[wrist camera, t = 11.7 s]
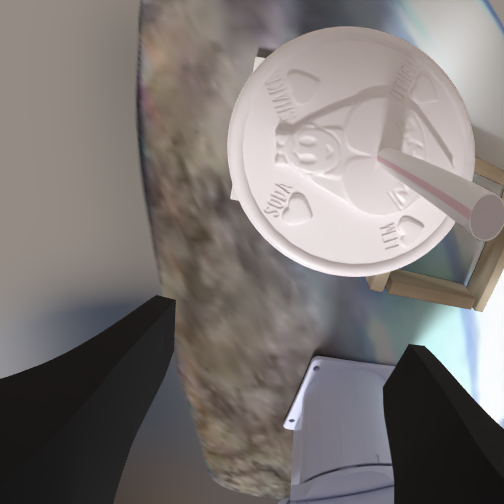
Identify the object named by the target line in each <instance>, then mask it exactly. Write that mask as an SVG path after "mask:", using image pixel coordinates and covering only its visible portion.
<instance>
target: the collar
mask: <svg viewBox="0 0 504 504" xmlns="http://www.w3.org/2000/svg"><path fill="white" fill-rule="evenodd" d="M474 172H475V173H477V174H479V175H481V176H484V177H486V178H488V179H490V180H492V181H495V182H497V183H499V184H501V185H503V186H504V171H503V170H501V169H499V168H497V167H495V166H493V165H491V164H489V163H486V162H484V161H482V160H480V159H478V158H476V157H475V168H474ZM501 199H502V200H503V202H504V192H503V195H502V198H501ZM503 268H504V226H503V228H502V230H501V231H500V233H499V234H498V235H497V236H496V237H495V238H493V239H491V240H489V241H486V244H485V247H484V249H483V252H482V254H481V256H480V259H479V261H478V264H477V266H476V268H475V271H474V273H473V275H472V277H471V279H470V282H469V284H468V286H467V288H466V286H465V285H464V284H460V283H456V282H452V281H448V280H443V279H439V278H435V277H431V276H426V275H422V274H418V273H413V272H409V271H405V270H400V269H396V270H394V271H390V272H387V273H383V274H378V275H373V276H365V278H366V280H367V283H368V286H369V288H370V290H374V291H379V292H383V290H384V287H386V289H387V292H388V294H393V295H398V296H403V297H408V298H414V299H419V300H424V301H429V302H434V303H439V304H444V305H449V306H454V307H460V308H465V309H470V310H471V308H473V309H474V310H475V311H481V312H483V310H484V308H485V306H486V304H487V302H488V300H489V298H490V296H491V294H492V292H493V290H494V288H495V286H496V284H497V282H498V279H499V277H500V275H501V273H502V271H503Z"/></svg>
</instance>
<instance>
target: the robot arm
mask: <svg viewBox="0 0 504 504" xmlns="http://www.w3.org/2000/svg"><path fill="white" fill-rule="evenodd" d="M175 307H176V300H174V299H170V298H166V297H162V296H158V295H156V296H154V297H153V298H151V299H150V300H148V301H147V302H146V303H144V304H142V305H141V306H140V307H138V308H137V309H136V310H134V311H132V312H131V313H130V314H128V315H127V316H125V317H124V318H122V319H121V320H119V321H118V322H116V323H115V324H114V325H112V326H110V327H109V328H107V329H106V330H104V331H103V332H101V333H100V334H98V335H96V336H95V337H93V338H91V339H90V340H88V341H86V342H84V343H83V344H81V345H79V346H78V347H76V348H74V349H72V350H70V351H69V352H67V353H65V354H63V355H61V356H59V357H56V358H54V359H52V360H50V361H48V362H46V363H43V364H41V365H38V366H36V367H33V368H30V369H28V370H25V371H22V372H20V373H17V374H14V375H12V376H8V377H5V378H2V379H0V504H113V502H114V498H115V494H116V491H117V488H118V484H119V481H120V478H121V474H122V471H123V469H124V465H125V463H126V460H127V457H128V454H129V451H130V448H131V445H132V443H133V441H134V438H135V436H136V434H137V432H138V430H139V428H140V426H141V423H142V422H143V419H144V417H145V415H146V413H147V411H148V409H149V407H150V405H151V403H152V401H153V399H154V397H155V395H156V393H157V391H158V389H159V387H160V385H161V383H162V381H163V379H164V377H165V374H166V371H167V369H168V366H169V363H170V360H171V357H172V354H173V352H174V332H175ZM315 366H319V367H315ZM284 428H286V429H291V430H294V436H293V455H292V471H291V483H292V486H291V495H290V498H285V499H282V500H281V501H280V502H279V503H278V504H504V429H503V428H502V427H501V426H500V425H499V424H498V423H496V422H495V421H494V420H493V419H492V418H491V417H490V416H489V415H488V414H487V413H486V412H485V411H484V410H483V409H482V408H481V406H480V405H479V404H478V403H477V402H476V401H475V400H474V399H473V398H472V397H471V396H470V395H469V394H468V392H467V391H466V390H465V389H464V388H463V387H462V386H461V385H460V383H459V382H458V381H457V380H456V379H455V378H454V377H453V375H452V374H451V373H450V372H449V371H448V370H447V369H446V368H445V366H444V365H443V364H442V363H441V362H440V361H439V360H438V359H437V358H436V357H435V356H434V355H433V354H432V353H431V352H430V351H429V350H428V349H427V348H426V347H425V346H420V345H412V344H409V345H408V347H407V348H406V350H405V352H404V353H403V355H402V357H401V358H400V360H399V362H398V363H397V365H396V366H389V365H380V364H372V363H364V362H357V361H350V360H343V359H336V358H330V357H324V356H315V357H314V358H313V359H312V360H311V363H310V365H309V368H308V370H307V372H306V375H305V377H304V379H303V382H302V384H301V386H300V388H299V391H298V393H297V395H296V397H295V400H294V402H293V404H292V406H291V408H290V411H289V413H288V415H287V417H286V419H285V421H284Z"/></svg>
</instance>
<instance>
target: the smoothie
mask: <svg viewBox="0 0 504 504" xmlns="http://www.w3.org/2000/svg"><path fill="white" fill-rule="evenodd" d="M227 149H228V163H229V170H230V175H231V179H232V183H233V186H234V189H235V192H236V195H237V197H238V199H239V202H240V204H241V206H242V208H243V210H244V211H245V213H246V215H247V216H248V218H249V220H250V221H251V222H252V224H253V225H254V226H255V228H256V229H257V230H258V231H259V233H260V234H261V235H262V236H263V237H264V238H265V239H266V240H267V241H268V242H269V243H270V244H271V245H272V246H273V247H275V248H276V249H277V250H279V251H280V252H281V253H283V254H284V255H285V256H287V257H289V258H290V259H292V260H293V261H295V262H297V263H299V264H301V265H303V266H306V267H308V268H311V269H313V270H316V271H320V272H323V273H327V274H332V275H337V276H347V277H363V276H373V275H378V274H383V273H387V272H390V271H394V270H396V269H399V268H402V267H404V266H406V265H408V264H410V263H412V262H414V261H416V260H417V259H419V258H420V257H422V256H424V255H425V254H426V253H428V252H429V251H430V250H431V249H433V248H434V247H435V246H436V245H437V244H438V243H439V242H440V241H441V240H442V239H443V238H444V237H445V236H446V235H447V233H448V232H449V231H450V230H451V228H452V227H453V226H454V224H455V222H457V223H458V224H459V225H460V226H462V227H463V228H464V229H465V230H467V231H468V232H469V233H470V234H471V235H473V236H474V237H475V238H476V239H478V240H480V241H489V240H491V239H493V238H495V237H496V236H497V235H498V234H499V233H500V231H501V230H502V228H503V226H504V202H503V200H502V199H501V197H500V196H498V195H497V194H495V193H493V192H491V191H489V190H487V189H485V188H483V187H481V186H479V185H477V184H475V183H473V182H472V181H473V176H474V168H475V143H474V135H473V130H472V125H471V122H470V118H469V115H468V112H467V110H466V107H465V105H464V102H463V100H462V98H461V96H460V94H459V92H458V91H457V89H456V87H455V86H454V84H453V83H452V81H451V80H450V79H449V77H448V76H447V75H446V74H445V72H444V71H443V70H442V69H441V68H440V67H439V66H438V65H437V64H436V63H435V62H434V61H433V60H432V59H431V58H430V57H429V56H427V55H426V54H425V53H424V52H422V51H421V50H420V49H418V48H417V47H415V46H414V45H412V44H410V43H408V42H407V41H405V40H403V39H401V38H399V37H396V36H394V35H392V34H389V33H386V32H382V31H379V30H375V29H370V28H364V27H354V26H339V27H330V28H324V29H320V30H315V31H312V32H309V33H306V34H303V35H301V36H299V37H297V38H294V39H292V40H290V41H289V42H287V43H285V44H284V45H282V46H280V47H279V48H278V49H276V50H275V51H274V52H272V53H271V54H270V55H269V56H268V57H267V58H266V59H264V60H263V61H262V62H261V63H260V64H259V66H258V67H257V68H256V69H255V70H254V72H253V73H252V74H251V75H250V77H249V78H248V80H247V82H246V83H245V85H244V86H243V88H242V90H241V92H240V94H239V96H238V98H237V101H236V104H235V106H234V109H233V113H232V116H231V120H230V126H229V132H228V147H227Z"/></svg>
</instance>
